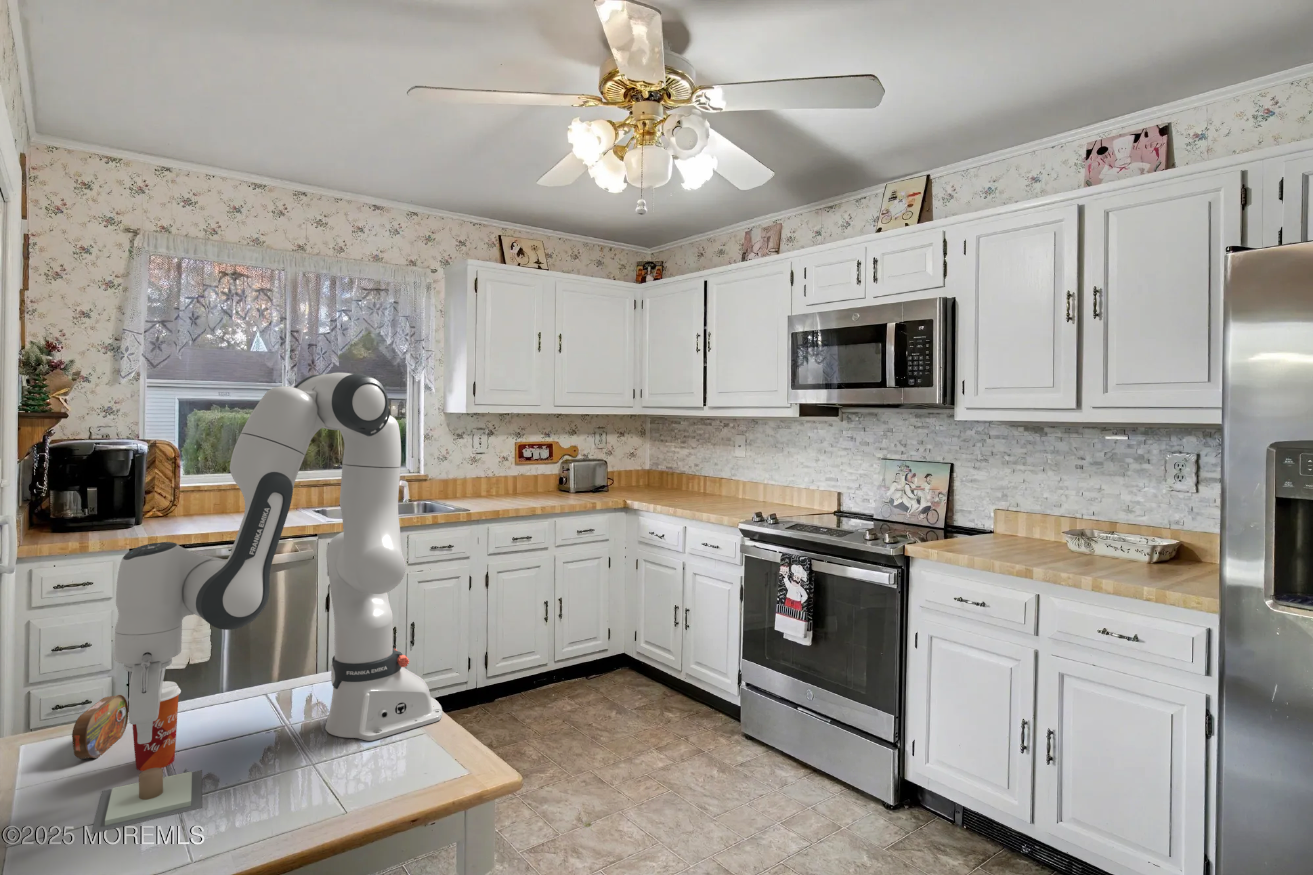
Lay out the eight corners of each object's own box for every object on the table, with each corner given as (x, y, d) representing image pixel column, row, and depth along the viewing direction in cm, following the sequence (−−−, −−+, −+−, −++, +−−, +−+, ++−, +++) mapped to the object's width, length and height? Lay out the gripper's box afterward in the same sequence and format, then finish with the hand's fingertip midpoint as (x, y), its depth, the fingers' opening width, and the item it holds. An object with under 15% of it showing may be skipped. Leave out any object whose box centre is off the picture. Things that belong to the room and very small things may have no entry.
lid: (191, 775, 125) (191, 750, 124) (191, 805, 115) (190, 778, 115) (112, 792, 119) (112, 766, 119) (104, 825, 109) (104, 797, 109)
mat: (202, 771, 127) (202, 769, 127) (202, 810, 115) (202, 807, 115) (102, 793, 119) (102, 790, 119) (91, 836, 107) (91, 833, 107)
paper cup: (154, 778, 124) (154, 698, 124) (117, 773, 126) (117, 694, 125) (192, 757, 132) (191, 681, 131) (156, 752, 133) (156, 677, 133)
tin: (88, 766, 128) (88, 719, 128) (68, 768, 127) (67, 721, 127) (130, 729, 143) (130, 687, 142) (112, 731, 142) (112, 688, 142)
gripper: (170, 661, 109) (167, 752, 109) (174, 626, 126) (172, 704, 126) (118, 667, 105) (115, 761, 106) (129, 630, 123) (127, 711, 123)
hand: (146, 730), depth 116 cm, fingers open, 8 cm apart
